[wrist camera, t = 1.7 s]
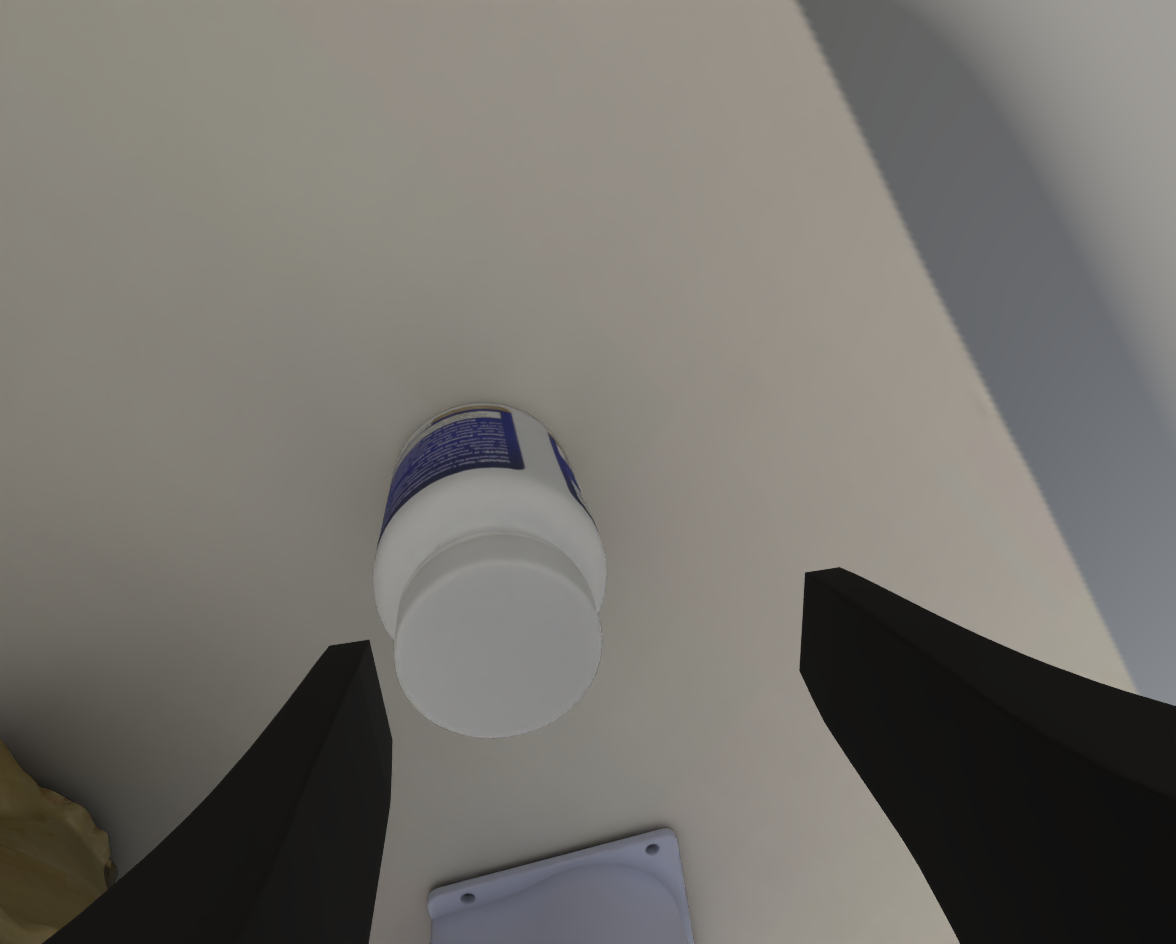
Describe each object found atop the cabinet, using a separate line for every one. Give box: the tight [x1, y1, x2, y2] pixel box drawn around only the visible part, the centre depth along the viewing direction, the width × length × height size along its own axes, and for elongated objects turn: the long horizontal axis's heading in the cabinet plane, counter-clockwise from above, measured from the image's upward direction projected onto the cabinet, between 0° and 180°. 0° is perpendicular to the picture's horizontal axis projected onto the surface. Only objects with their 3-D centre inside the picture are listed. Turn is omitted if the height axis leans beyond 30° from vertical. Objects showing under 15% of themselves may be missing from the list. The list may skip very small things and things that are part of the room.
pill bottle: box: [373, 403, 607, 738], centre depth 18 cm, size 5×5×9 cm
